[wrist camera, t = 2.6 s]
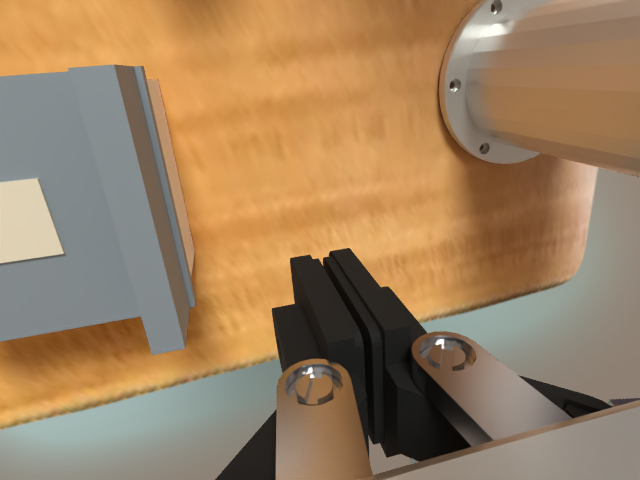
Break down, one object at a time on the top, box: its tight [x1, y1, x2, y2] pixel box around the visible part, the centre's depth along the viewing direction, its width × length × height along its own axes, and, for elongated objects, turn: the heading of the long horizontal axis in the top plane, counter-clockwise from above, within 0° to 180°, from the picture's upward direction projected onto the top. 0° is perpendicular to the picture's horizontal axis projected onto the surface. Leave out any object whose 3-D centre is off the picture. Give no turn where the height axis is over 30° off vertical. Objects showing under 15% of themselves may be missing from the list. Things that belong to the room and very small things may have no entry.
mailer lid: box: [0, 65, 196, 355], centre depth 19 cm, size 15×13×5 cm
